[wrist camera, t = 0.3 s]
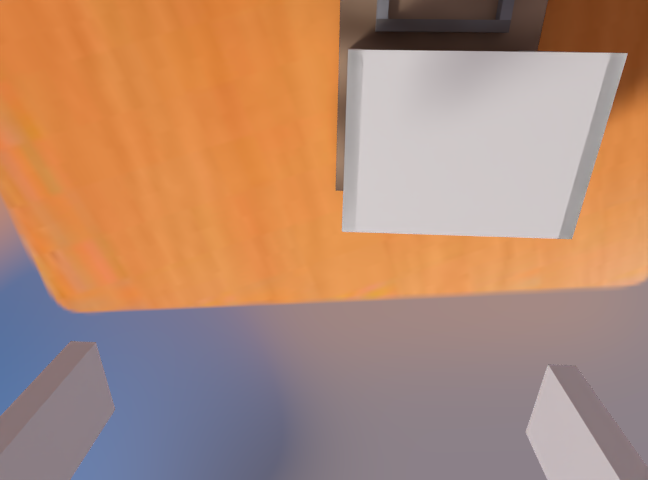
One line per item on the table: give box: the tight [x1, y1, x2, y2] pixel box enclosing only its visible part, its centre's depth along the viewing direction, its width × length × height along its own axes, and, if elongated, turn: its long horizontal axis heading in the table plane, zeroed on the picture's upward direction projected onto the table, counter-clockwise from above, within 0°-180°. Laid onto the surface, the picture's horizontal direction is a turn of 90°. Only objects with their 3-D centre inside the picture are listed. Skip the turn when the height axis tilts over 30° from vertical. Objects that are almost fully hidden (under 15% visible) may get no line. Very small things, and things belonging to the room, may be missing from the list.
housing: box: [342, 49, 628, 239], centre depth 28 cm, size 10×14×12 cm
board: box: [336, 0, 548, 191], centre depth 31 cm, size 24×15×2 cm, turn 179°
